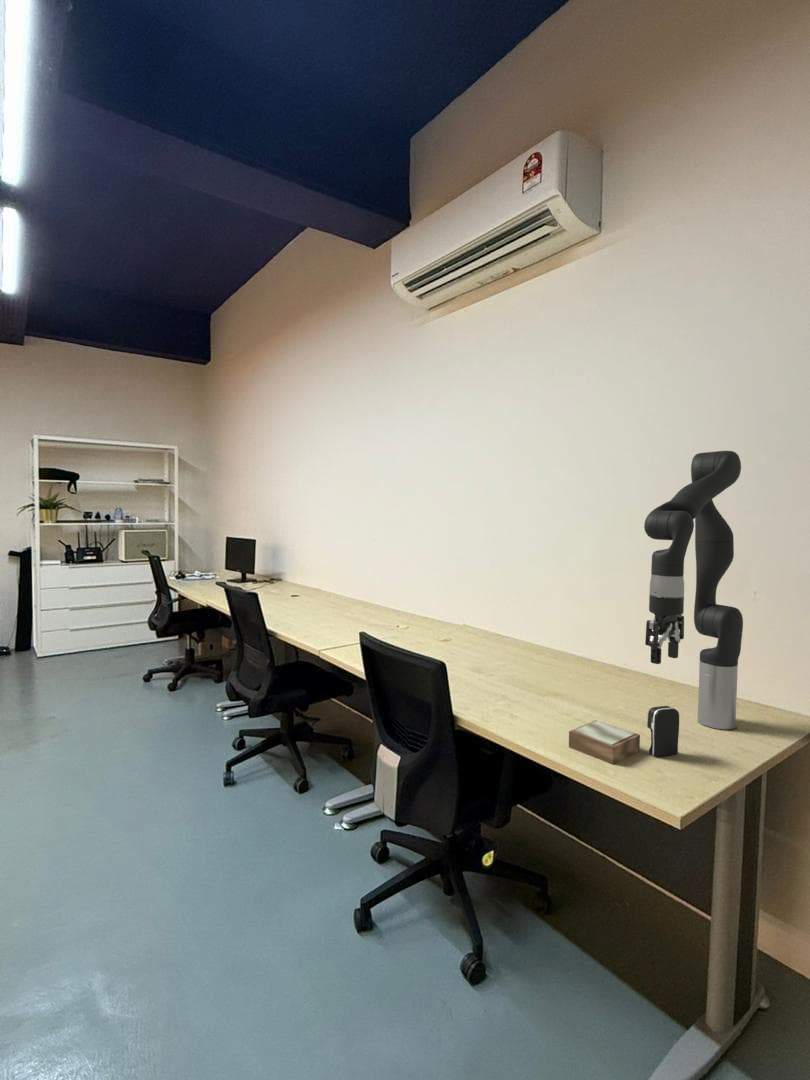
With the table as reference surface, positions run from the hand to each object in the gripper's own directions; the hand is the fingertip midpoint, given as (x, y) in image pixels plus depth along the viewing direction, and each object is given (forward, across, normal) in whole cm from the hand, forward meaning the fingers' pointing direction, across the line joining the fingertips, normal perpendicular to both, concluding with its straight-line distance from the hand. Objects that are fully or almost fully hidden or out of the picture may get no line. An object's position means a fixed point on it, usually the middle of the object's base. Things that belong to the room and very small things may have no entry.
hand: (664, 660), depth 133 cm
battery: (+23, 0, 0) cm, 23 cm away
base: (+23, +9, -10) cm, 27 cm away
